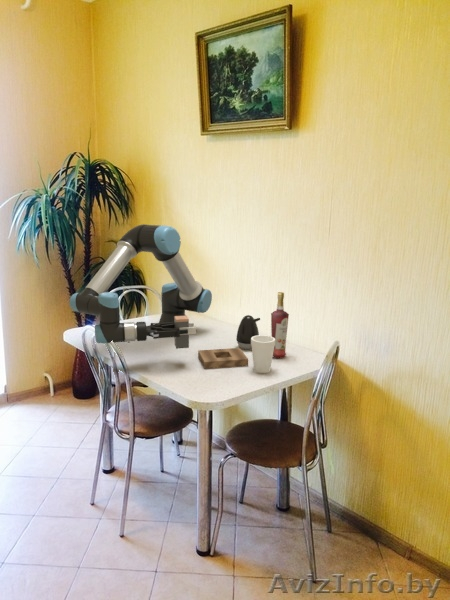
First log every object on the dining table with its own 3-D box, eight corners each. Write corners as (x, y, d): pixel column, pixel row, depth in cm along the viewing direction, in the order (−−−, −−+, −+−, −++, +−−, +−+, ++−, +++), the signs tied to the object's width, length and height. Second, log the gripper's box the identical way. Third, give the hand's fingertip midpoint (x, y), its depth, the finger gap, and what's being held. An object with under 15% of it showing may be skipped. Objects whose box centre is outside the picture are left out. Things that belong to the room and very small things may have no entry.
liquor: (277, 360, 201) (280, 295, 195) (265, 355, 207) (268, 292, 201) (290, 357, 205) (293, 293, 199) (278, 352, 211) (281, 290, 205)
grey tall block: (176, 348, 191) (176, 319, 188) (174, 344, 195) (174, 316, 192) (188, 347, 192) (188, 319, 189) (186, 343, 196) (186, 315, 193)
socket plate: (204, 369, 190) (204, 361, 190) (198, 357, 204) (198, 350, 203) (248, 366, 195) (248, 359, 194) (239, 354, 208) (239, 347, 207)
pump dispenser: (257, 352, 211) (258, 319, 207) (234, 350, 213) (235, 317, 209) (260, 345, 221) (261, 313, 217) (238, 343, 223) (239, 311, 219)
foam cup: (261, 364, 197) (262, 333, 194) (278, 370, 191) (280, 339, 188) (245, 369, 190) (246, 338, 188) (262, 376, 184) (264, 344, 181)
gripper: (134, 333, 197) (191, 330, 202) (137, 348, 180) (198, 344, 185) (134, 316, 195) (190, 313, 200) (136, 329, 178) (198, 325, 183)
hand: (194, 328), depth 193 cm, fingers closed on grey tall block, 5 cm apart
